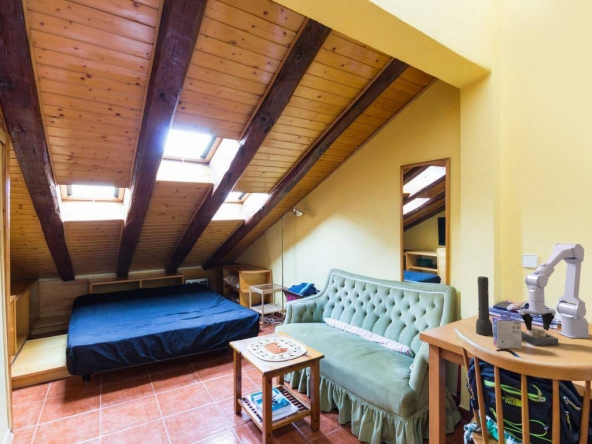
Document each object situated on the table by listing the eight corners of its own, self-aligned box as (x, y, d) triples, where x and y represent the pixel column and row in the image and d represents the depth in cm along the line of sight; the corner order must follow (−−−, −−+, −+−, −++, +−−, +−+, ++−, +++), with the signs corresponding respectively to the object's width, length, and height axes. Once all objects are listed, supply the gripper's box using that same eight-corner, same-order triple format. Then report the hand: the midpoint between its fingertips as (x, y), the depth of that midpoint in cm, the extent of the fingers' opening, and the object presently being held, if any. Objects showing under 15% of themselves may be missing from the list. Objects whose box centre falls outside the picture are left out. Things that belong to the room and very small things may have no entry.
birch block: (538, 337, 147) (538, 327, 147) (545, 341, 143) (545, 330, 143) (528, 338, 148) (528, 327, 148) (535, 341, 143) (535, 330, 143)
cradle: (540, 337, 150) (540, 330, 150) (558, 345, 140) (558, 338, 140) (518, 337, 150) (518, 330, 150) (534, 345, 140) (534, 338, 140)
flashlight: (481, 330, 161) (473, 332, 158) (480, 275, 161) (471, 276, 158) (495, 334, 155) (487, 337, 152) (494, 277, 155) (485, 278, 152)
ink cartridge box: (516, 344, 142) (515, 312, 142) (522, 349, 137) (521, 315, 137) (492, 343, 144) (491, 311, 144) (497, 347, 139) (496, 314, 139)
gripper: (546, 297, 149) (546, 326, 149) (514, 298, 149) (515, 327, 149) (558, 301, 142) (559, 331, 142) (525, 302, 142) (526, 332, 142)
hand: (537, 330), depth 145 cm, fingers open, 7 cm apart
